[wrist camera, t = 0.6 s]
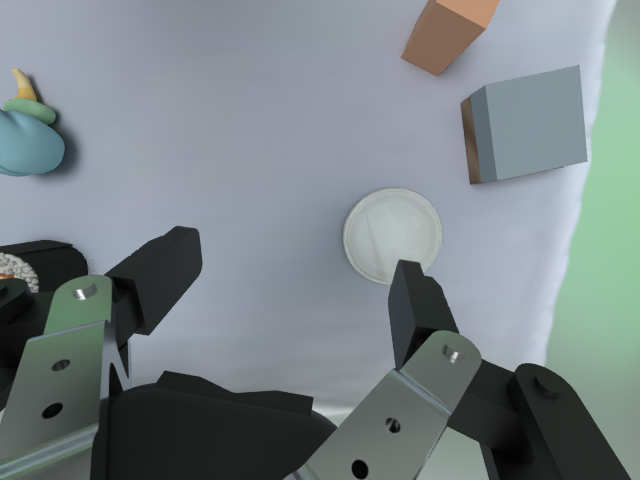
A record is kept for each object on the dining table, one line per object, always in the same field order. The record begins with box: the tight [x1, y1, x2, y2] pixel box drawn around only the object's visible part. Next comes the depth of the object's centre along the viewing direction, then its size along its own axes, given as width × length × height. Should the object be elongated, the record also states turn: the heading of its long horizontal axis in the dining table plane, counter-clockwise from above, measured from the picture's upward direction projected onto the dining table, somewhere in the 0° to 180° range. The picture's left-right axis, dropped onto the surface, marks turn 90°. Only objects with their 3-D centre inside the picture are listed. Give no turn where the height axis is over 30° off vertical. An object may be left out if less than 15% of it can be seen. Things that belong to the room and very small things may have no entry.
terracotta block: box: [401, 0, 500, 76], centre depth 30 cm, size 5×5×10 cm
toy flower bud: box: [0, 69, 65, 176], centre depth 31 cm, size 7×9×12 cm
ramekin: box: [343, 188, 443, 285], centre depth 35 cm, size 11×11×5 cm
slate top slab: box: [470, 65, 587, 182], centre depth 33 cm, size 10×10×3 cm
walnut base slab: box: [461, 97, 562, 184], centre depth 36 cm, size 10×10×3 cm
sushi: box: [0, 240, 88, 292], centre depth 33 cm, size 8×8×8 cm
